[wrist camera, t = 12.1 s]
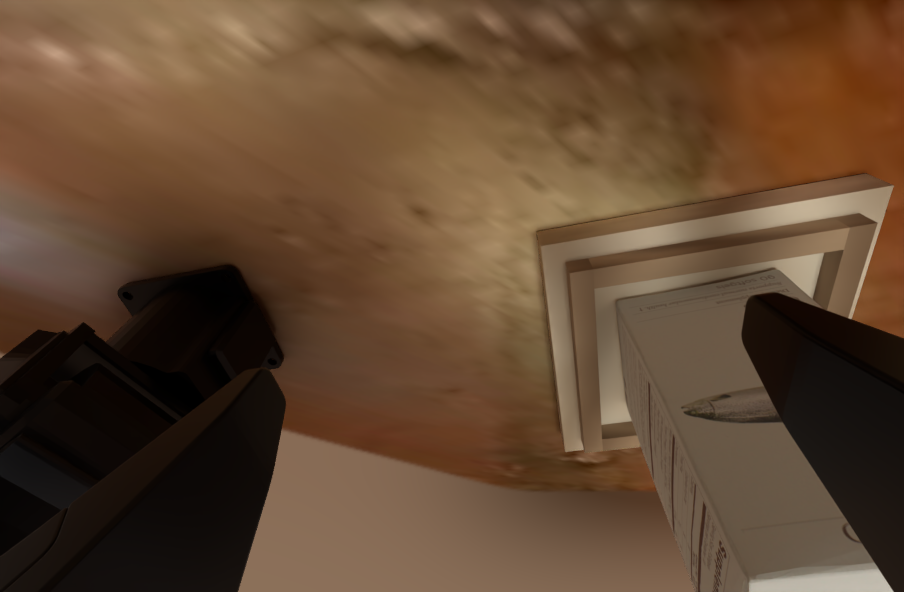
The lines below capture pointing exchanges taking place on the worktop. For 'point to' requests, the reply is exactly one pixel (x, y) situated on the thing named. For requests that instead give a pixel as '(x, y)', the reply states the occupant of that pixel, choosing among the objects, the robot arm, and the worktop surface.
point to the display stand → (690, 278)
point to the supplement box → (730, 449)
